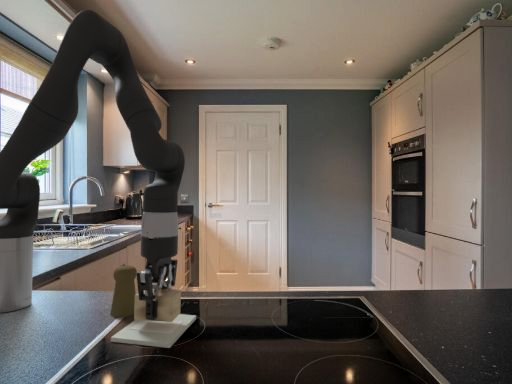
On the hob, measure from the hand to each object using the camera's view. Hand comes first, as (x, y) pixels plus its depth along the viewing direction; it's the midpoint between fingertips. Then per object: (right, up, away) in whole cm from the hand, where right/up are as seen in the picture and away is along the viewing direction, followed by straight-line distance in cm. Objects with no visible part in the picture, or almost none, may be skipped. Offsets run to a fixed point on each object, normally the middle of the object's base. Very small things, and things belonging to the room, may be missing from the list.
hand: (157, 313), depth 66 cm
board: (0, -3, 0) cm, 3 cm away
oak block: (0, -1, 0) cm, 1 cm away
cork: (-11, -3, +9) cm, 14 cm away
